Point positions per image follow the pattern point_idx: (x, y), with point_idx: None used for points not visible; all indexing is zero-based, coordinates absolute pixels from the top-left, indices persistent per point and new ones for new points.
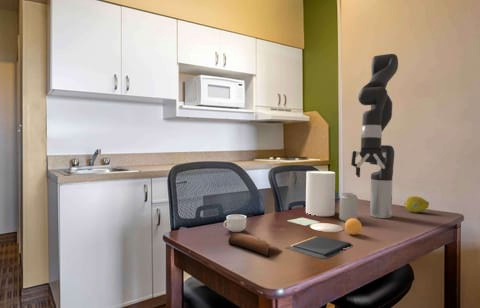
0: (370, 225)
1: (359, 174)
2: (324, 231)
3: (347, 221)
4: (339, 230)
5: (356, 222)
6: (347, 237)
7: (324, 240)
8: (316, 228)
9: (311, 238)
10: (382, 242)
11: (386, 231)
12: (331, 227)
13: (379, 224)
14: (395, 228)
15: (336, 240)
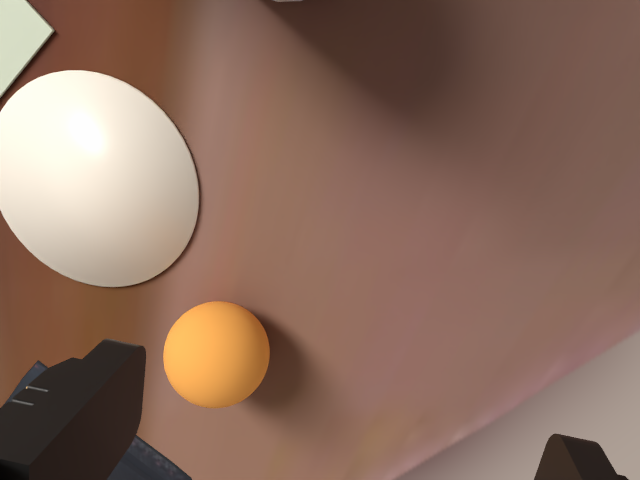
0: (428, 88)
1: (105, 466)
2: (76, 279)
3: (167, 375)
4: (164, 260)
5: (217, 407)
6: None
7: None
8: (30, 223)
9: None
10: (349, 453)
11: (476, 252)
12: (122, 192)
13: (523, 43)
14: (593, 166)
15: (115, 478)
